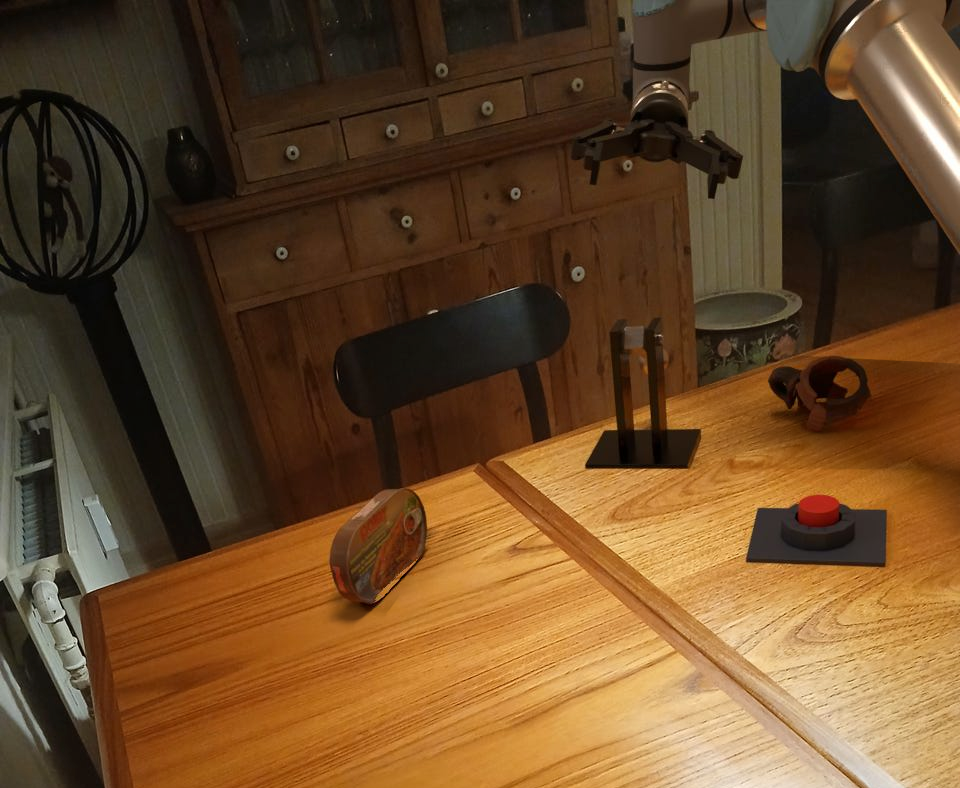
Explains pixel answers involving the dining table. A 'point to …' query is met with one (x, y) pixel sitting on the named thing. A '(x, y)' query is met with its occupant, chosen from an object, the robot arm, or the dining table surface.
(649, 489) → the dining table surface
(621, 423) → the bracket
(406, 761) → the dining table surface
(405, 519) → the tin
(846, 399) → the pottery mug
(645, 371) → the lever
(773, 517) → the button box
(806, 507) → the button
